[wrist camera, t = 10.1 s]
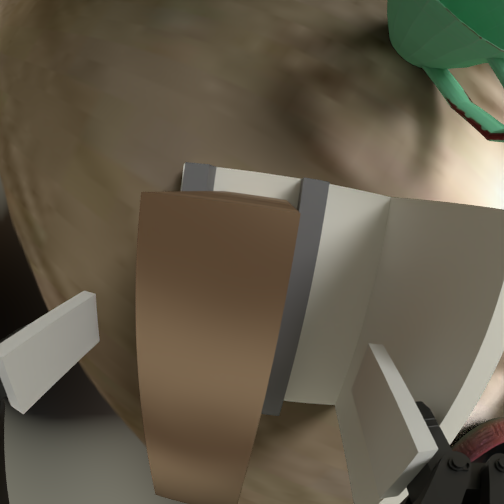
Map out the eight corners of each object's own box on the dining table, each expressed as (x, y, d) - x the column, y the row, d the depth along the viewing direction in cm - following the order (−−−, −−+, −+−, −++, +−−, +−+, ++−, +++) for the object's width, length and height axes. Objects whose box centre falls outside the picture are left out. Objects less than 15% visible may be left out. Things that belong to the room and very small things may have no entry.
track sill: (189, 165, 20) (64, 137, 7) (409, 202, 19) (545, 225, 6) (173, 371, 23) (108, 487, 10) (353, 397, 22) (387, 520, 10)
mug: (338, 3, 16) (363, -77, 6) (429, 0, 14) (475, -55, 5) (414, 166, 18) (502, 155, 8) (496, 143, 17) (578, 134, 7)
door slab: (224, 191, 19) (141, 192, 7) (286, 199, 18) (300, 213, 7) (205, 373, 22) (155, 494, 10) (254, 382, 21) (234, 512, 10)
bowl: (432, 480, 25) (447, 518, 17) (422, 443, 23) (443, 491, 16) (519, 421, 22) (542, 450, 14) (525, 368, 21) (559, 400, 13)
